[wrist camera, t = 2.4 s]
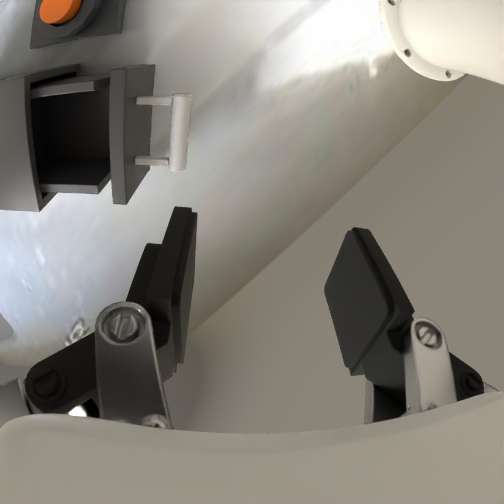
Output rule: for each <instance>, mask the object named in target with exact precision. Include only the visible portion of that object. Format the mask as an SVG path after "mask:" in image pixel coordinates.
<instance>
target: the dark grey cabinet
mask: <svg viewBox="0 0 504 504" xmlns="http://www.w3.org/2000/svg"><path fill="white" fill-rule="evenodd" d="M78 76H80V64H73V65H66V66H60V67H55V68H50V69H45V70H40V71H35V72H31V73H27V74H23V75H19V76H15V77H12V78H8V79H5V80H1V81H0V210H19V211H37V212H40V211H41V210H42V209H43V208H44V207H45V206H46V205H47V203H48V202H49V201H50V200H51V199H52V198H53V197H54V196H55V195H56V194H57V193H58V192H41V190H40V185H39V179H38V173H37V166H36V159H35V152H34V143H33V132H32V119H31V96H30V86H31V85H34V84H37V83H40V82H45V81H51V80H57V79H63V78H70V77H78Z"/></svg>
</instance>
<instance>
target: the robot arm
mask: <svg viewBox="0 0 504 504" xmlns="http://www.w3.org/2000/svg"><path fill="white" fill-rule="evenodd" d="M388 1H389V3H388ZM380 18H381V24H382V26H383V29H384V33H385V35H386V37H387V39H388V41H389V43H390V45H391V46H392V48H393V49H394V51H395V52H396V54H397V55H398V56H399V57H400V58H401V60H402V61H403V62H404V63H405V64H406V65H408V66H409V67H410V68H411V69H412V70H414V71H415V72H417V73H419V74H421V75H422V76H425V77H428V78H430V79H435V80H439V81H451V80H455V79H458V78H460V77H462V76H463V75H464V74H465V73H467V74H471V75H474V76H478V77H481V78H485V79H488V80H491V81H494V82H497V83H500V84H503V85H504V0H380ZM404 51H405V54H404ZM196 230H197V213H195V212H192V208H188V207H177V206H175V207H174V210H173V213H172V215H171V218H170V221H169V224H168V227H167V230H166V233H165V236H164V239H163V242H162V244H153V243H147V244H146V246H145V249H144V251H143V254H142V257H141V259H140V262H139V265H138V267H137V270H136V273H135V276H134V278H133V281H132V284H131V287H130V290H129V293H128V296H127V299H126V302H117V303H113V304H111V305H109V306H107V307H106V308H105V309H104V310H102V311H101V312H100V314H99V316H98V317H97V319H96V324H95V332H93V333H91V334H90V335H88V336H86V337H84V338H82V339H80V340H79V341H77V342H75V343H73V344H71V345H69V346H68V347H66V348H64V349H62V350H60V351H58V352H57V353H55V354H53V355H51V356H49V357H47V358H46V359H44V360H42V361H40V362H38V363H37V364H36V365H34V366H33V367H32V368H31V370H30V371H29V372H28V374H27V377H26V379H24V380H20V379H19V378H16V379H14V380H12V381H9V382H7V383H4V384H2V385H0V504H504V392H500V391H498V390H497V389H495V388H493V387H492V386H490V385H488V384H486V383H485V382H484V383H483V381H482V378H481V376H480V375H479V374H478V373H477V372H476V371H475V370H474V369H473V368H471V367H470V366H468V365H467V364H466V363H464V362H463V361H461V360H460V359H459V358H457V357H456V356H454V355H453V354H451V353H450V352H449V351H448V346H447V342H446V338H445V335H444V332H443V331H442V329H441V328H440V327H439V326H438V325H437V324H436V323H435V322H433V321H432V320H430V319H427V318H423V317H419V318H416V319H415V320H414V319H413V317H412V314H413V313H414V309H413V307H412V305H411V303H410V301H409V299H408V297H407V295H406V293H405V291H404V289H403V288H402V286H401V284H400V282H399V280H398V278H397V276H396V274H395V273H394V271H393V269H392V267H391V266H390V264H389V262H388V260H387V259H386V257H385V255H384V253H383V252H382V250H381V248H380V247H379V245H378V243H377V242H376V240H375V238H374V237H373V235H372V233H371V232H370V230H368V229H363V228H356V227H354V228H353V229H352V230H351V231H348V232H347V233H346V235H345V238H344V240H343V243H342V245H341V248H340V250H339V253H338V255H337V258H336V261H335V263H334V265H333V267H332V270H331V272H330V275H329V277H328V279H327V282H326V284H325V289H324V291H325V296H326V300H327V303H328V306H329V310H330V313H331V317H332V320H333V324H334V327H335V330H336V334H337V338H338V342H339V345H340V349H341V353H342V357H343V360H344V364H345V366H346V367H348V368H349V370H350V374H351V376H355V375H364V374H365V377H366V379H367V380H366V398H365V417H364V425H359V426H352V427H345V428H337V429H329V430H320V431H308V432H296V433H277V434H276V433H275V434H226V433H206V432H193V431H182V430H174V428H173V424H172V420H171V416H170V412H169V408H168V403H167V399H166V394H165V390H164V386H163V382H165V381H166V380H168V379H169V378H170V377H172V374H173V372H176V369H177V363H180V364H183V363H184V355H185V345H186V337H187V329H188V321H189V313H190V306H191V298H192V291H193V284H194V273H195V249H196ZM407 410H408V411H407Z"/></svg>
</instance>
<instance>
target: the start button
mask: <svg viewBox="0 0 504 504" xmlns="http://www.w3.org/2000/svg"><path fill="white" fill-rule="evenodd" d="M81 3H82V0H43V2H42V4H41V7H40V17H41V19H42V21H44V22H45V23H56V24H61V23H65V22H67V21H69V20H70V19H71V18H73V17H74V16H75V15H76V13H77V12H78V10H79V9H80V6H81Z"/></svg>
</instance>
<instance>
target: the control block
mask: <svg viewBox="0 0 504 504" xmlns="http://www.w3.org/2000/svg"><path fill="white" fill-rule="evenodd" d="M42 2H43V0H36V5H35V11H34V18H33V25H32V34H31V45H30V49H33V48H39V47H43V46H47V45H51V44H56V43H60V42H65V41H70V40H75V39H81V38H87V37H94V36H101V35H109V34H119V33H121V30H122V22H123V15H124V9H125V3H126V0H82V3H81V6H80V9H79V10H78V12H77V13H76V15H75V16H74V17H73V18H71V19H70V20H69V21H67V22H65V23H61V24H56V23H45V22H44V21H42V19H41V17H40V7H41V4H42Z"/></svg>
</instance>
